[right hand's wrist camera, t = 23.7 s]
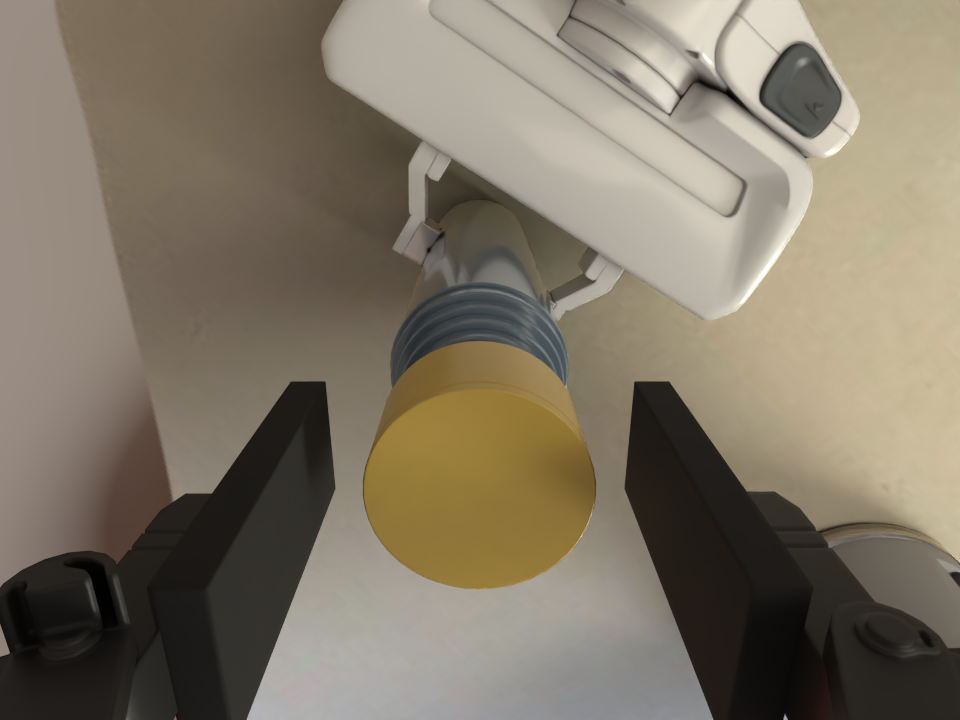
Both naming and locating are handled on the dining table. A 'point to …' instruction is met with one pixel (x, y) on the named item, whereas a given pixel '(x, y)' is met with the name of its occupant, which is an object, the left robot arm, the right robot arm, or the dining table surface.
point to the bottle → (479, 292)
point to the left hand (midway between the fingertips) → (470, 293)
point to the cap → (479, 468)
